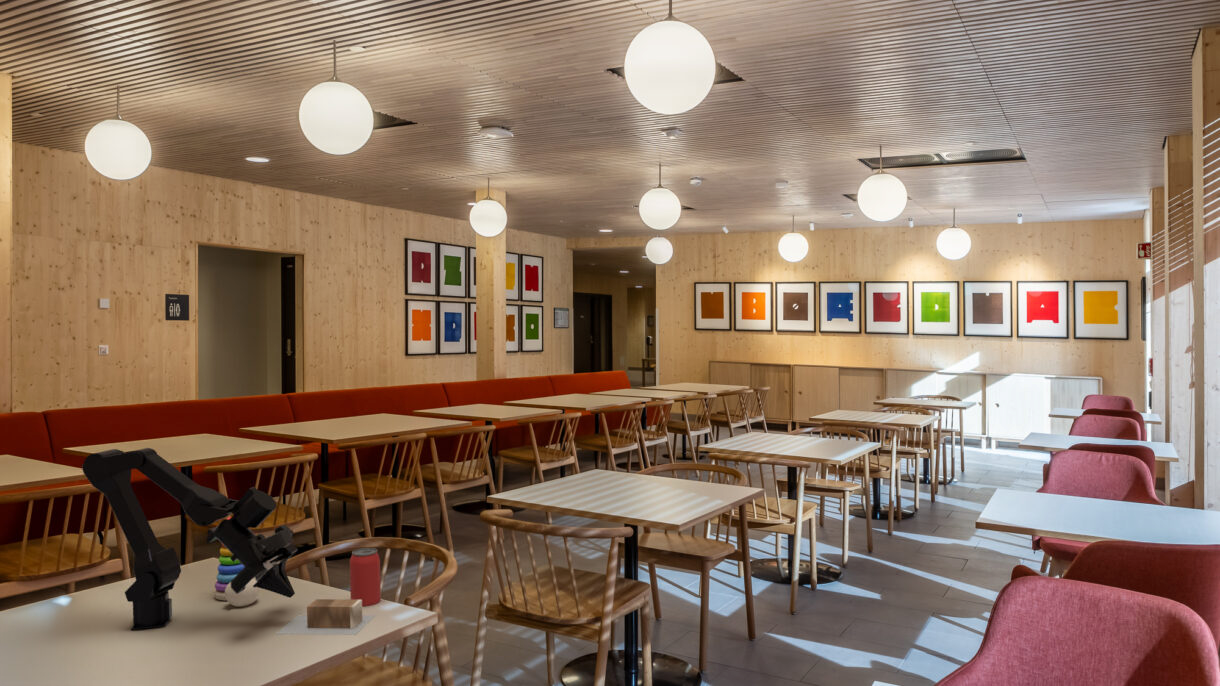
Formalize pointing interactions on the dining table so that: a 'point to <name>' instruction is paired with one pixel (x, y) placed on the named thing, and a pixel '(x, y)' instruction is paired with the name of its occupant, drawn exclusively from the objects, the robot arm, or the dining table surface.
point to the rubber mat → (300, 627)
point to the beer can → (365, 576)
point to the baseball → (242, 594)
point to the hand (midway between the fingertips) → (292, 595)
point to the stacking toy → (226, 572)
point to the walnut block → (334, 613)
